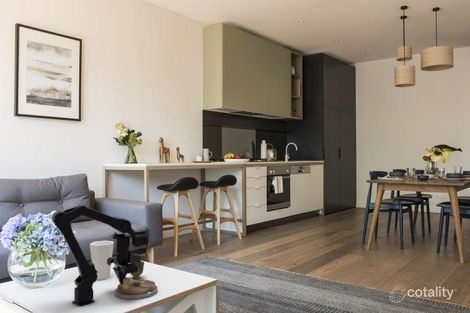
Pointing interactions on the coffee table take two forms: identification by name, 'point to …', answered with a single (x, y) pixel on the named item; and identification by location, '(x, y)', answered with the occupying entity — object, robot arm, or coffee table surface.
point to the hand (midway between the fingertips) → (121, 284)
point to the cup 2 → (141, 266)
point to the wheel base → (137, 296)
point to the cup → (101, 257)
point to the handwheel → (135, 286)
